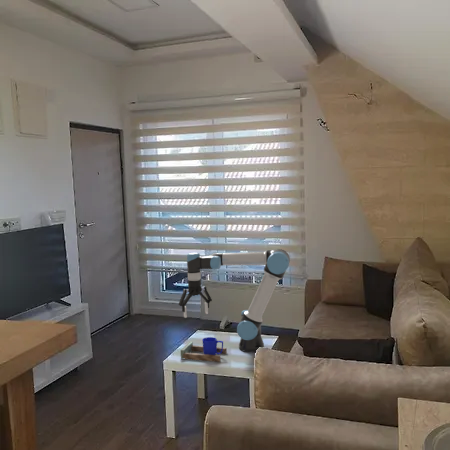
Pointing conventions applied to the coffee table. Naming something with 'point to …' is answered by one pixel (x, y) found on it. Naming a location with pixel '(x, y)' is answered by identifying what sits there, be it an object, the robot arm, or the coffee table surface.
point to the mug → (211, 346)
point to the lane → (204, 357)
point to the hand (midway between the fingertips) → (196, 315)
